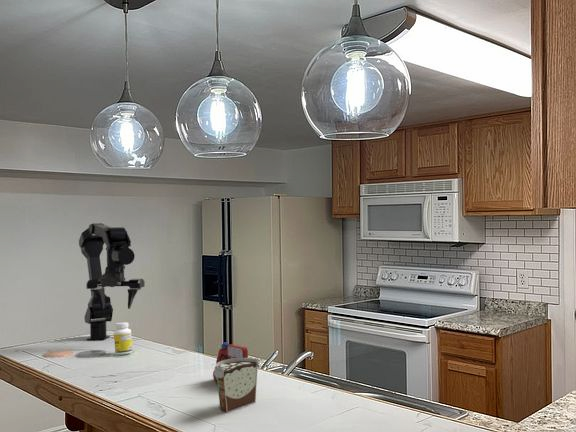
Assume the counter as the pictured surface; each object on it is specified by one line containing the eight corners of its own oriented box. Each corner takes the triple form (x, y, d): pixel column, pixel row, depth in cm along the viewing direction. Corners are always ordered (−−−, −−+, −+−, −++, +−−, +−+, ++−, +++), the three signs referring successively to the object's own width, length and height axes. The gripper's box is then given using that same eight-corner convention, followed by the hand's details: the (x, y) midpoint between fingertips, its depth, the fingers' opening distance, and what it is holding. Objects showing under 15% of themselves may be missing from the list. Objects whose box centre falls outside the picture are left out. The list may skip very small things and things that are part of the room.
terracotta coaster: (50, 352, 199) (50, 350, 199) (77, 352, 199) (77, 349, 199) (39, 358, 190) (39, 356, 190) (67, 358, 190) (67, 356, 190)
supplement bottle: (113, 353, 194) (112, 323, 195) (130, 351, 196) (129, 321, 197) (116, 355, 189) (114, 324, 190) (134, 353, 191) (132, 322, 192)
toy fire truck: (229, 376, 163) (229, 338, 163) (257, 385, 153) (256, 344, 153) (208, 381, 158) (207, 342, 158) (235, 390, 149) (234, 349, 149)
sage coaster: (116, 353, 197) (115, 351, 197) (142, 353, 197) (142, 351, 197) (105, 359, 188) (105, 357, 188) (133, 360, 188) (133, 357, 188)
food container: (240, 396, 143) (240, 355, 143) (259, 401, 139) (259, 358, 140) (202, 409, 134) (202, 365, 134) (222, 414, 130) (221, 369, 130)
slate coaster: (83, 352, 198) (83, 350, 198) (109, 352, 198) (109, 350, 198) (72, 358, 189) (71, 356, 189) (99, 358, 189) (99, 356, 189)
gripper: (79, 265, 198) (80, 312, 198) (134, 264, 197) (134, 312, 197) (92, 263, 209) (93, 307, 209) (144, 262, 208) (145, 307, 208)
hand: (116, 308), depth 205 cm, fingers open, 9 cm apart
